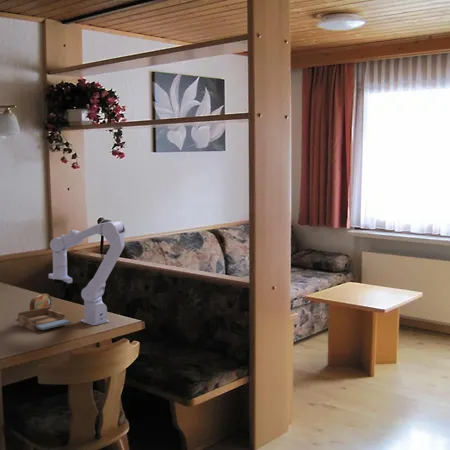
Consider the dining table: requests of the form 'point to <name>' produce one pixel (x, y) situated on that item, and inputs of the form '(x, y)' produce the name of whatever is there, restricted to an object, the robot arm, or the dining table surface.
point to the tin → (40, 301)
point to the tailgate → (53, 324)
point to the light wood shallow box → (38, 317)
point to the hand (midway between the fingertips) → (60, 297)
